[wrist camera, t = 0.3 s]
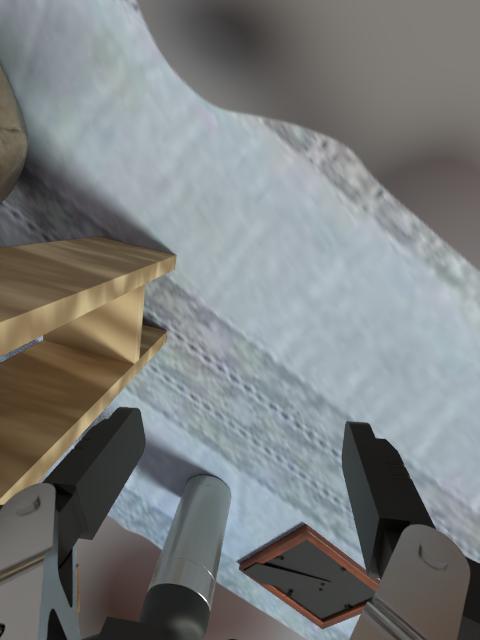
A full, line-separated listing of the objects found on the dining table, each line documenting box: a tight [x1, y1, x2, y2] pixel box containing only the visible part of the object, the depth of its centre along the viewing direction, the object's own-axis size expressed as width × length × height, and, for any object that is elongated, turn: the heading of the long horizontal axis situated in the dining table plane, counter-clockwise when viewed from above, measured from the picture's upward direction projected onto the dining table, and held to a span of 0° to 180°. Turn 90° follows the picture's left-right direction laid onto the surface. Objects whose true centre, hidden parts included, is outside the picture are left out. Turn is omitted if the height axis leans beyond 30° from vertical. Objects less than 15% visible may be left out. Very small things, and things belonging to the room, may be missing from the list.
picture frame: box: [239, 524, 380, 629], centre depth 60 cm, size 20×2×25 cm
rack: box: [0, 237, 176, 505], centre depth 28 cm, size 14×12×34 cm
